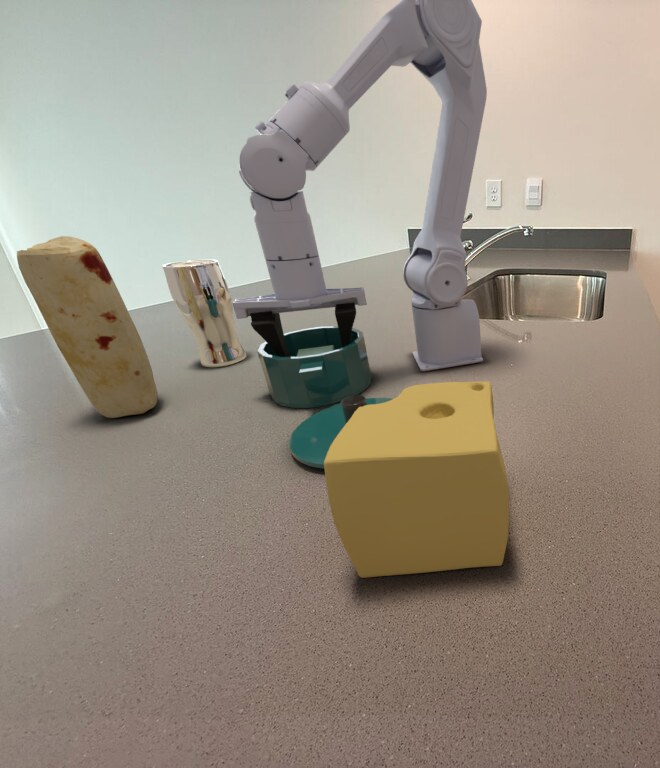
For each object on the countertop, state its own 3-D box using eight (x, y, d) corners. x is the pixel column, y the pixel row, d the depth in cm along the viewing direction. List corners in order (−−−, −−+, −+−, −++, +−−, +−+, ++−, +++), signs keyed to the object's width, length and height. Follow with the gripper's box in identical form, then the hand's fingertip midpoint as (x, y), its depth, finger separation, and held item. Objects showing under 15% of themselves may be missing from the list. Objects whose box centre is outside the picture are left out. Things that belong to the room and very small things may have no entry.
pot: (367, 357, 65) (359, 317, 62) (376, 406, 50) (367, 356, 47) (280, 369, 61) (268, 327, 58) (262, 427, 46) (244, 374, 43)
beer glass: (225, 370, 61) (188, 267, 54) (186, 367, 62) (146, 266, 56) (259, 353, 67) (230, 259, 60) (224, 351, 68) (192, 259, 62)
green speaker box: (306, 379, 56) (298, 349, 54) (340, 374, 57) (333, 344, 56) (303, 393, 52) (295, 362, 50) (340, 387, 53) (333, 356, 51)
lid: (413, 397, 51) (409, 366, 50) (435, 454, 40) (430, 416, 38) (297, 418, 47) (287, 385, 45) (285, 489, 36) (271, 448, 34)
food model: (182, 406, 51) (111, 236, 42) (113, 430, 46) (17, 243, 37) (149, 388, 55) (80, 233, 47) (84, 409, 50) (-7, 239, 42)
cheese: (381, 485, 36) (361, 383, 32) (502, 476, 37) (498, 376, 33) (349, 587, 27) (314, 463, 22) (512, 573, 27) (508, 450, 23)
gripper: (211, 267, 42) (251, 385, 48) (358, 257, 47) (378, 365, 53) (227, 258, 48) (260, 364, 54) (356, 250, 53) (373, 348, 59)
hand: (318, 363), depth 54 cm, fingers open, 6 cm apart
